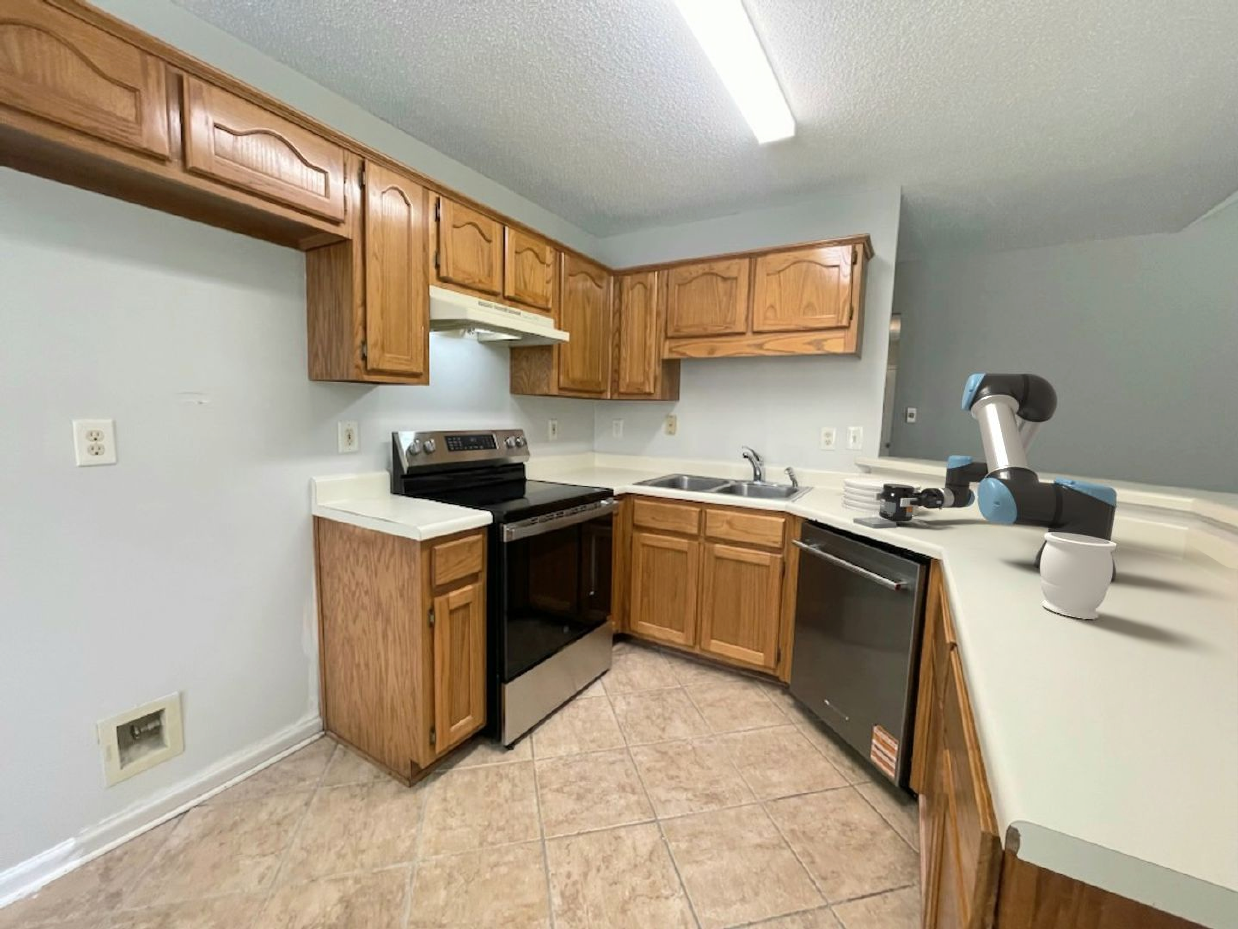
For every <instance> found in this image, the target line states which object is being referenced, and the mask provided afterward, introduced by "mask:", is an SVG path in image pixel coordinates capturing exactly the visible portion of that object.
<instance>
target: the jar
mask: <svg viewBox="0 0 1238 929" xmlns="http://www.w3.org/2000/svg"><path fill="white" fill-rule="evenodd" d="M1043 538H1044V541H1045V540H1047V543H1046V545H1045V547H1044V549H1043V552H1042V556H1041V561H1040V568H1039V572H1040V583H1041V584H1040V585H1041V586H1040V587H1041V591H1042V594H1043V597H1045V598H1044V600H1043V601H1042V602H1041V606H1042V605H1043V606H1044V607H1046V608H1049V609H1051V610H1053V611H1056V612H1058V613H1064V614H1067V615H1071V616H1074V617H1080V618H1086V619H1093V620H1096V619H1095V618H1097V619H1098V618H1099V614H1098V612H1097V609H1098V608H1099V607H1100V606H1101V605H1102V603H1103V602H1104V600H1105V597H1106V595H1107V592H1108V590H1109V587H1110V585H1111V582H1112V581H1111V578H1112V573H1113V560H1114V559H1113V560H1112V556H1113V554H1112V555H1111V553H1112V551H1115V550H1116V548H1117V543H1115V542H1113V541H1112V540H1111V541H1108V540H1104V539H1100V538H1096V537H1091V536H1085V535H1079V534H1071V533H1058V532H1049V533H1048V532H1045V533H1044V535H1043ZM1043 606H1042V607H1043ZM1044 607H1043V608H1044Z"/></svg>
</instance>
